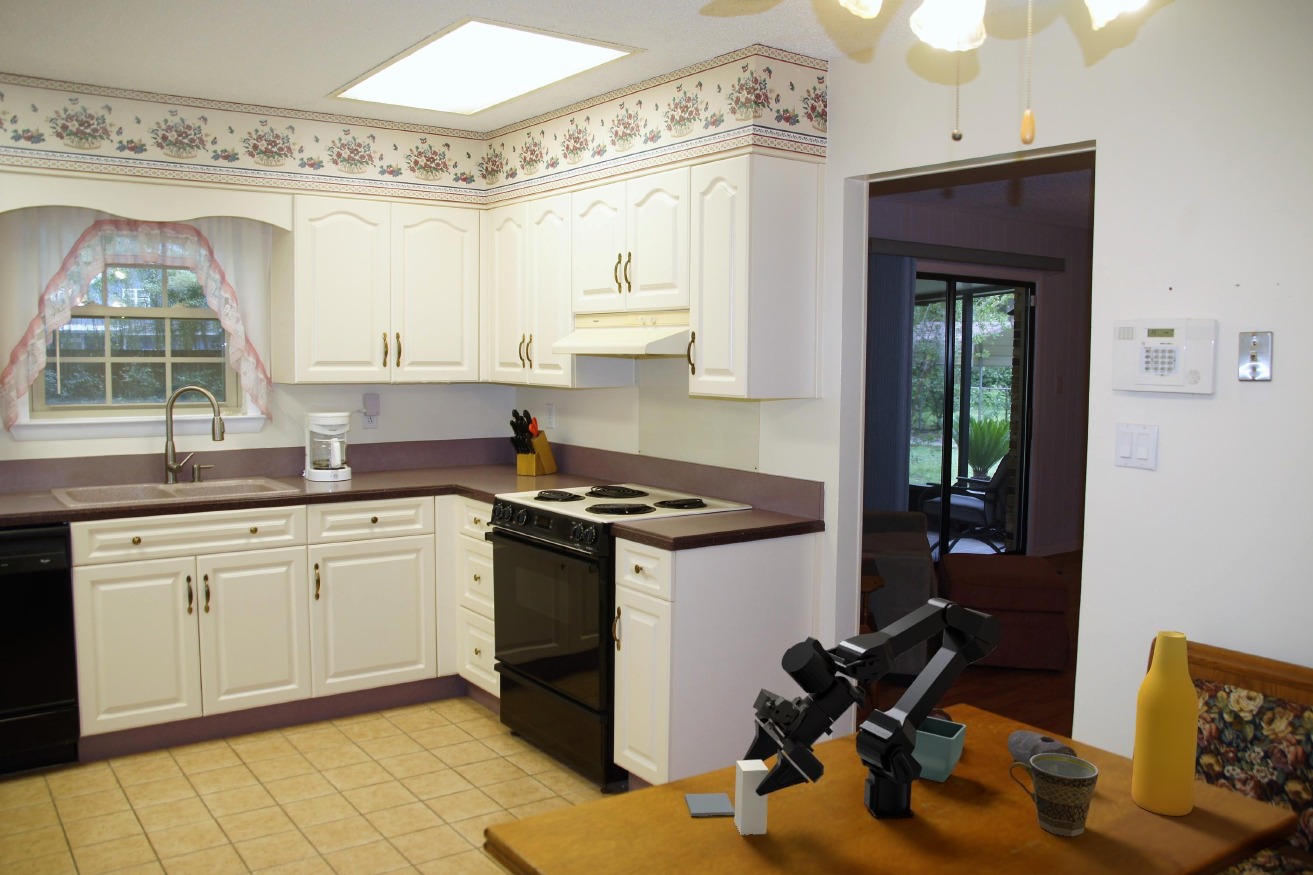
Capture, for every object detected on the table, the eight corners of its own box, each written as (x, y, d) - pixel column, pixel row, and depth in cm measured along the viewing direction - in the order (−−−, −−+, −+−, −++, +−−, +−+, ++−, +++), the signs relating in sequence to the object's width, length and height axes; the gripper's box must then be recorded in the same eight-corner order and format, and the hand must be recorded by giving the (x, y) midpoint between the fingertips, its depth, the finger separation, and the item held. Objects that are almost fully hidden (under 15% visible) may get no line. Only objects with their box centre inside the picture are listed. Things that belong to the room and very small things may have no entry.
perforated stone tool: (997, 757, 184) (999, 720, 183) (1020, 754, 185) (1022, 718, 185) (1055, 789, 169) (1057, 750, 169) (1079, 785, 171) (1081, 746, 171)
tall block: (759, 821, 154) (761, 759, 153) (766, 833, 150) (768, 769, 149) (734, 823, 153) (736, 760, 153) (740, 834, 149) (742, 770, 149)
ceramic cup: (1091, 819, 158) (1095, 758, 158) (1098, 846, 149) (1101, 782, 148) (1006, 805, 162) (1009, 746, 162) (1007, 831, 153) (1010, 768, 152)
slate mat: (726, 796, 163) (726, 792, 163) (734, 815, 156) (734, 811, 156) (684, 797, 162) (684, 793, 162) (691, 816, 155) (691, 812, 155)
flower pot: (965, 773, 175) (967, 724, 175) (951, 790, 168) (953, 738, 167) (916, 761, 180) (918, 713, 180) (900, 777, 173) (903, 727, 172)
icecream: (973, 723, 183) (942, 703, 198) (936, 713, 182) (908, 694, 197) (964, 759, 183) (933, 737, 198) (927, 749, 182) (899, 728, 197)
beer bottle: (1206, 813, 161) (1217, 639, 159) (1161, 819, 158) (1172, 643, 157) (1161, 790, 170) (1171, 625, 168) (1118, 796, 167) (1128, 628, 165)
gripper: (769, 656, 160) (701, 724, 159) (806, 692, 142) (729, 770, 141) (813, 702, 162) (746, 770, 161) (855, 744, 144) (780, 821, 142)
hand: (749, 781), depth 151 cm, fingers open, 9 cm apart
